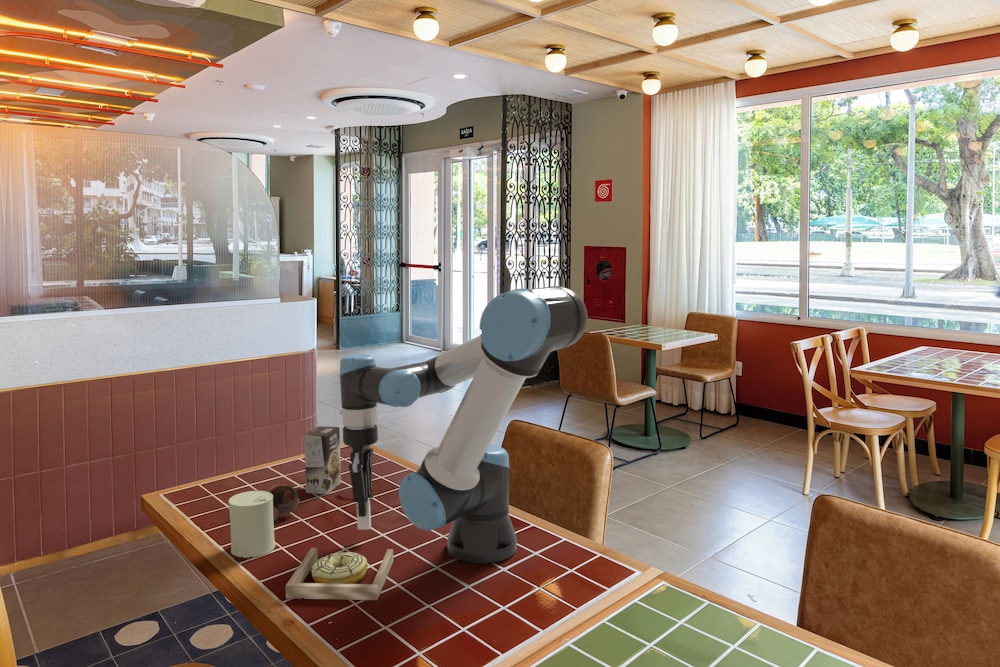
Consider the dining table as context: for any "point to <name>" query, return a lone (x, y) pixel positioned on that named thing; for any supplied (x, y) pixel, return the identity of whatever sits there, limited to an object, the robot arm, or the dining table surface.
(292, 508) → the brown spiked ring
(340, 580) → the decorated donut
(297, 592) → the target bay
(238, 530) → the can
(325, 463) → the coffee box
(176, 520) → the dining table surface
